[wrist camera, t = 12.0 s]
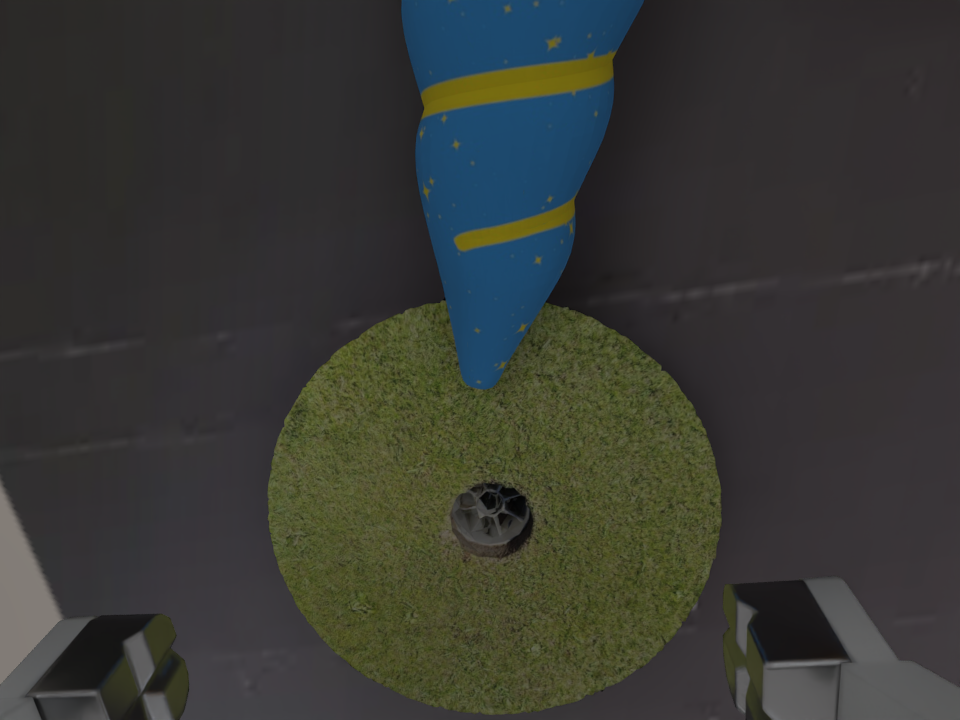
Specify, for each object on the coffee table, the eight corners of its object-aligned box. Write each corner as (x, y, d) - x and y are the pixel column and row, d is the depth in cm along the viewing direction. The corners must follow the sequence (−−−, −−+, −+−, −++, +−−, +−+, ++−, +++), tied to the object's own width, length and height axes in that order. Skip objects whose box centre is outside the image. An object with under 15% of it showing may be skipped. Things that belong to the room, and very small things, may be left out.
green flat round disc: (208, 493, 20) (175, 525, 18) (483, 190, 17) (479, 191, 15) (500, 735, 21) (499, 789, 19) (789, 486, 19) (820, 519, 17)
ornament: (386, 339, 18) (422, -436, 13) (583, 356, 18) (700, -400, 13) (354, 430, 13) (390, -760, 8) (623, 452, 13) (837, -696, 8)
